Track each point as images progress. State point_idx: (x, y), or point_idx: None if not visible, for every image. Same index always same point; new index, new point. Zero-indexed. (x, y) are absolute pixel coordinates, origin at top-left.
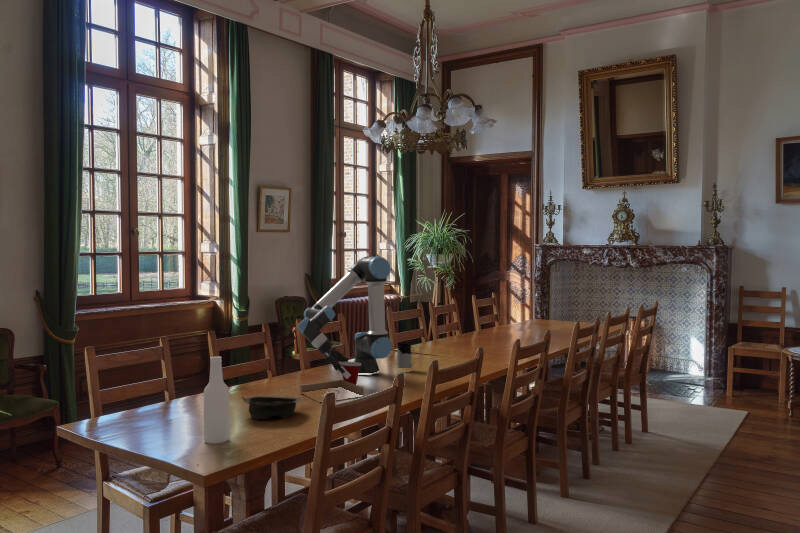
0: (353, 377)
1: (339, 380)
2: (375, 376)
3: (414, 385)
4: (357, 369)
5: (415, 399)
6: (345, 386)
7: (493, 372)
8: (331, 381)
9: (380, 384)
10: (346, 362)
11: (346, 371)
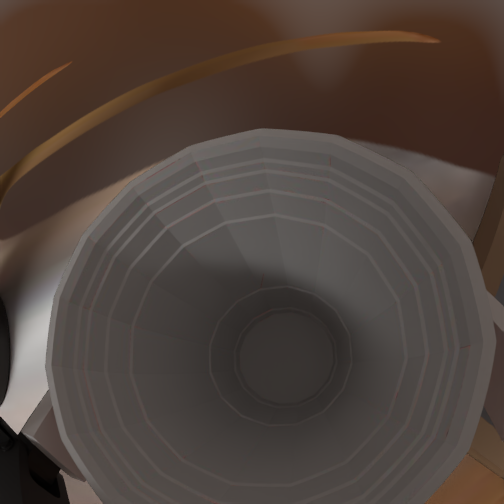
0: (337, 287)
1: None
2: (16, 289)
3: (187, 75)
4: (298, 204)
5: (402, 32)
6: None
7: (63, 65)
8: (495, 437)
9: None
10: (92, 456)
11: (490, 299)
